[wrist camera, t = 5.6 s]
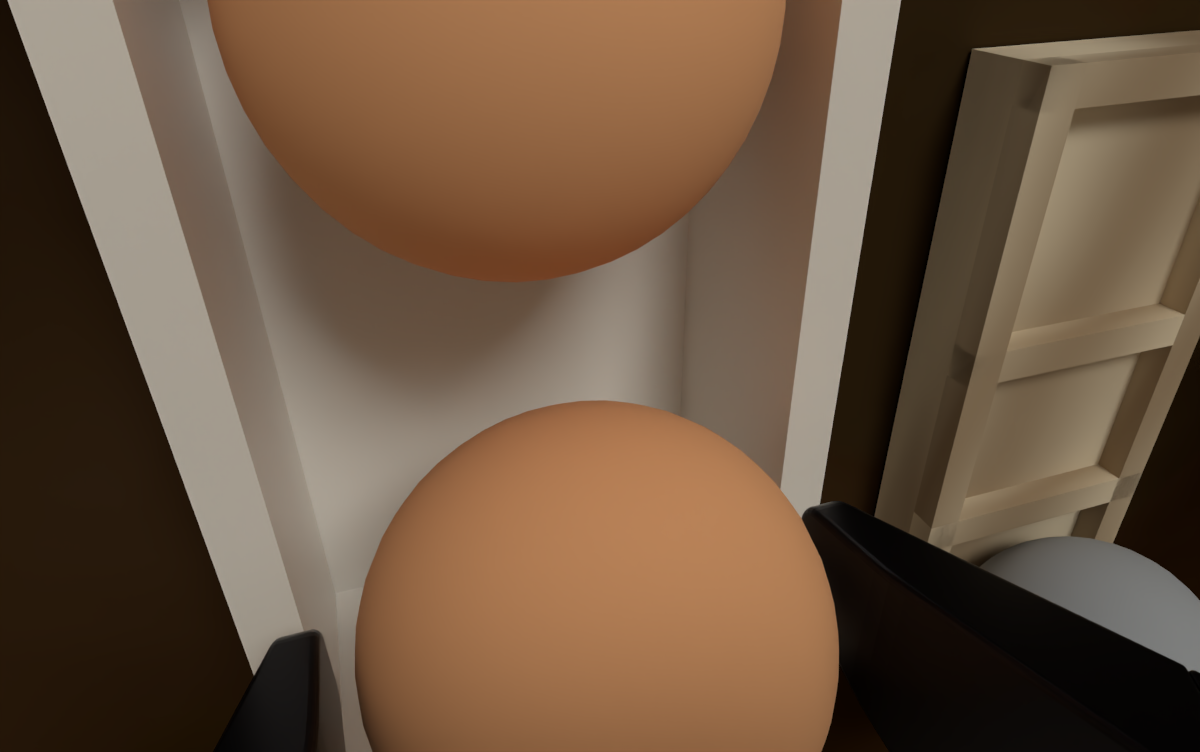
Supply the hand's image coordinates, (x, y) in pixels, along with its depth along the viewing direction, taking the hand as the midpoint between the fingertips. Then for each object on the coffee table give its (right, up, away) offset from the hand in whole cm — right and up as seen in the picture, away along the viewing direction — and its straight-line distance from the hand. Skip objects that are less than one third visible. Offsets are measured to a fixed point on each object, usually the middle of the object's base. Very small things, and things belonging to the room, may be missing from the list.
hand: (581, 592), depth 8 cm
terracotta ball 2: (-1, +1, +1) cm, 2 cm away
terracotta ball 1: (-1, +6, 0) cm, 7 cm away
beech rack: (+8, +2, +7) cm, 11 cm away
